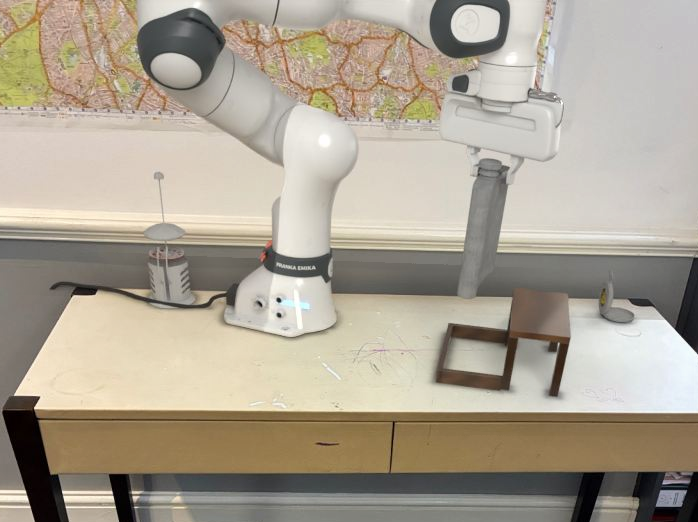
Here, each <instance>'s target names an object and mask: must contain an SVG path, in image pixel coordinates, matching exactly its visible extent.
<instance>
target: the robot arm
mask: <svg viewBox="0 0 698 522" xmlns="http://www.w3.org/2000/svg"><path fill="white" fill-rule="evenodd" d="M547 3H548V0H135V4H136V25H137V36H136V47H137V52H138V57H139V60H140V64H141V66H142V68H143V71H144V72H145V74H146V75H147V76H148V77H149V79H151V81H152V82H153V83H154V84H155V85H156V86H158V88H160V90H161V91H163V92H164V93H166V94H167V95H168V96H169V97H170V98H171V99H173V100H174V101H175V102H177V103H178V104H180V106H182V107H183V108H185V109H187V110H188V111H190V112H191V113H193V114H194V115H195V116H198V117H200V118H201V119H203V120H204V121H205V122H207V123H209V124H211V125H212V126H214V127H216V128H218V129H219V130H221V131H222V132H224V133H226V134H227V135H230V136H231V137H233V138H234V139H236V140H237V141H238V142H240V143H242V144H243V145H244V146H246V147H247V148H249V149H250V150H251V151H253V152H255V154H258V155H259V156H261V157H262V158H264V159H266V160H267V161H269V162H270V163H272V164H275V165H277V166H279V167H281V168H284V171H285V178H284V184H283V188H282V192H281V195H280V196H278V197H277V198H276V199H275V200H274V201H273V203H272V206H271V239H269V240H268V242H266V244H265V247H264V249H263V250H262V253H261V255H260V262H262V263H263V264H261V265H260V266H259V267H257V268H256V269H255V270H253V271H252V272H250V273H249V274H248V275H246V276H245V277H244V278H243V279H242V280H241V281H240V283H235V282H234V283H233V284H231V286H230V287H229V288H228V289H227V291H225V292H222V293H218V294H214V295H212V296H211V297H210V298H209V300H208V301H207V302H205V303H200V304H190V305H186V304H179V303H170V302H163V301H158V300H154V299H150V298H149V297H146V296H142V295H140V294H139V295H138V294H135V293H133V292H129V291H127V290H124V289H120V288H115V287H111V286H110V287H109V286H104V285H96V284H86V283H85V284H84V283H77V282H73V281H64V280H63V281H58V282H55V283H54V284H52V285H51V286H50V287H49V290H50V291H54V290H56V289H57V288H59V287H61V286H68V287H74V288H80V289H87V290H88V289H90V290H98V291H99V290H102V291H107V292H112V293H116V294H121V295H124V296H128V297H130V298H134V299H136V300H139V301H143V302H147V303H149V302H151V303H156V304H162V305H167V306H172V307H180V308H179V309H204V308H207V307H210V306H211V305H212V304H213V303H214V301H215V300H218V299H221V298H225V302H226V303H225V305H226V307H225V309H224V312H223V320H224V322H225V324H228V325H232V326H236V327H241V328H247V329H251V330H255V331H260V332H265V333H268V334H273V335H278V336H283V337H287V338H296V337H298V336H301V335H304V334H309V333H315V332H320V331H323V330H326V329H329V328H331V327H333V326H334V325H335V324H336V323H337V320H338V317H337V316H338V315H337V313H336V309H335V304H334V299H333V298H334V297H333V291H332V278H333V272H334V271H333V270H334V257H333V248H332V247H331V235H332V233H331V231H332V212H333V206H334V202H335V198H336V195H337V192H338V189H339V187H340V185H341V182H342V181H343V180H344V179H346V178H347V177H348V176H349V175H350V174H351V173H352V171H353V170H354V168H355V166H356V163H357V161H358V157H359V150H360V149H359V140H358V137H357V134H356V132H355V130H354V129H353V128H352V126H350V125H349V124H348V123H346V121H344V120H343V119H342V118H340V117H339V116H338V115H336V114H335V113H333V112H330V111H328V110H325V109H322V108H317V107H315V106H312V105H310V104H307V103H304V102H302V101H299V100H297V99H296V98H293V97H291V96H290V95H288V94H286V93H285V92H284V91H283V90H282V89H280V88H279V87H278V86H277V85H276V84H275V83H274V82H273V81H272V79H271V78H270V76H269V75H268V74H267V73H266V72H265V71H263V70H261V69H260V68H259V67H257V66H256V65H254V64H253V63H252V62H250V61H249V60H247V59H246V58H244V57H243V56H241V55H240V54H239V53H237V52H236V51H235V50H233V49H231V48H230V47H228V46H227V45H226V44H227V40H226V37H225V34H224V33H223V32H222V29H223V28H224V27H225V26H226V25H228V24H229V23H231V22H233V21H248V22H252V23H255V24H260V25H263V26H264V25H265V26H269V27H274V28H278V29H283V30H292V31H293V30H294V31H321V30H323V29H325V28H327V27H328V26H329V25H331V24H333V23H336V22H338V21H342V20H343V21H344V20H354V21H360V22H364V23H370V24H375V25H380V26H384V27H389V28H395V29H397V30H399V31H402V32H404V33H405V34H406V35H407V36H408V37H410V38H411V39H412V40H413V41H414V42H415V43H416V44H417V45H419V46H421V47H422V48H424V49H427V50H430V51H433V52H434V53H437V54H438V55H441V56H443V57H445V58H447V59H450V60H464V59H468V58H474V57H478V59H477V67H476V68H471V69H468V70H467V71H464V72H460V73H455V74H451V75H450V76H448V77H447V80H446V90H447V91H448V93H446V94H445V96H444V98H443V101H442V103H441V108H440V115H439V123H438V134H439V136H440V138H441V140H442V141H445V142H450V143H455V144H460V145H464V146H466V153H465V154H466V156H467V159H468V161H469V164H470V171H469V175H470V177H473V178H477V177H478V176H479V175H480V174H479V170H480V168H481V167H479V161H480V157H479V153H480V152H481V149H483V150H486V151H491V152H496V153H500V154H505V155H509V156H510V158H509V163H512V164H511V166H509V167H510V169H509V170H508V171H506V172H502V179H501V183H502V184H506V185H508V186H512V185H514V182H515V178H516V173H517V172H518V171H519V169H520V168H521V167H522V165H523V164H524V162H525V159H528V160H532V161H536V162H540V163H545V162H548V161H551V160H554V158H556V156H557V155H558V153H559V149H560V140H561V127H562V126H561V125H562V121H563V119H564V113H565V103H564V101H563V100H562V98H561V97H559V95H558V93H556V92H551V91H550V92H547V91H543V90H539V89H535V82H536V75H537V70H538V64H539V57H538V48H539V47H538V46H539V42H540V39H541V37H542V34H543V31H544V26H545V19H546V12H547Z"/></svg>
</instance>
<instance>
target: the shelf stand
mask: <svg viewBox="0 0 698 522" xmlns="http://www.w3.org/2000/svg"><path fill="white" fill-rule="evenodd" d="M570 320H571V319H570V305H569V294H568V293H565V292H558V291H550V290H549V291H548V290H539V289H531V288H522V287H513V292H512V298H511V304H510V311H509V317H508V322H507V326H506V327H507V328H506V329H504V328H495V327H488V326H480V325H473V324H472V325H471V324H462V323H453V322H448V323H447V327H446V332H445V334H444V335H445V336H444V339H443V342H442V343H443V344H442V348H441V351H440V352H441V353H440V356H439V359H438V364H437V368H436V375H435V383H436V384H437V383H438V384H444V385H453V386H454V385H455V386H460V387H469V388H475V389H477V388H478V389H483V390H491V391H499V392H500V391H510V387H511V381H512V376H513V370H514V365H515V358H516V353H517V347H518V342H519V339H523V340H524V339H526V340H533V341H542V342H549V343H548V352H554V353H556V356H555V362H554V365H553V371H552V376H551V382H550V385H549V389H548V396H549V397H555V398H558V397H559V392H560V387H561V383H562V379H563V375H564V369H565V365H566V361H567V356H568V352H569V348H570V344H571V338H572V337H571V336H572V335H571V321H570ZM452 338H457V339H466V340H472V341H473V340H474V341H482V342H491V343H499V344H504V346H505V347H506V352H505V359H504V365H503V371H502V375H499V374H493V373H484V372H475V371H469V370H460V369H453V368H446V364H447V358H448V354H449V349H450V347H451V341H452Z"/></svg>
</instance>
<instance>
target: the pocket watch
mask: <svg viewBox="0 0 698 522" xmlns="http://www.w3.org/2000/svg"><path fill="white" fill-rule="evenodd" d="M608 275H609V277H608V279H609V280H607V281H604V282H603V283H602V285H601V287H600V289H599V294H598V310H599V314H601V315H602V316H603V317H604V318H605V319H607V320H609V321H612V322H617V323H629V322H632V321H633V320H635V316H636V315H635V313H634V312H633V311H632V310H629V309H627V308H624V307H618V306H612V305H613V300H614V285H613V283H612V282H613V280H614V274H613V271H612V270H611V269H610V270H609V271H608Z"/></svg>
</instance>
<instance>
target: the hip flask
mask: <svg viewBox="0 0 698 522" xmlns="http://www.w3.org/2000/svg"><path fill="white" fill-rule="evenodd" d="M479 167H481V168H480V170H479V174H480V175H479V176H478V177H475V180H474V182H473V184H472V188H471V195H470V201H469V202H470V203H469V208H468V217H467V224H466V231H465V237H464V245H463V250H462V258H461V264H460V272H459V279H458V286H457V293H456V295H457V297H459V298H461V299H464V300H472V299H475V298H476V297H477V293H478V289H479V287H480V285H481V284H482V282H483V280H484V279H486V277H487V276H488V275H490V274H491V273H492V272H493V271H494V270H495V265H496V260H497V253H498V246H499V242H500V236H501V229H502V225H503V219H504V218H503V217H504V213H505V206H506V199H507V196H508V195H507V194H508V189H509V185H506V184H502V183H501V179H502V172H506V171H508V170H509V169H510V167H511V166H509V165H505V164H503V162H502V161H501V160H499V159H496V158H486V157H485V158H479Z"/></svg>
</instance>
